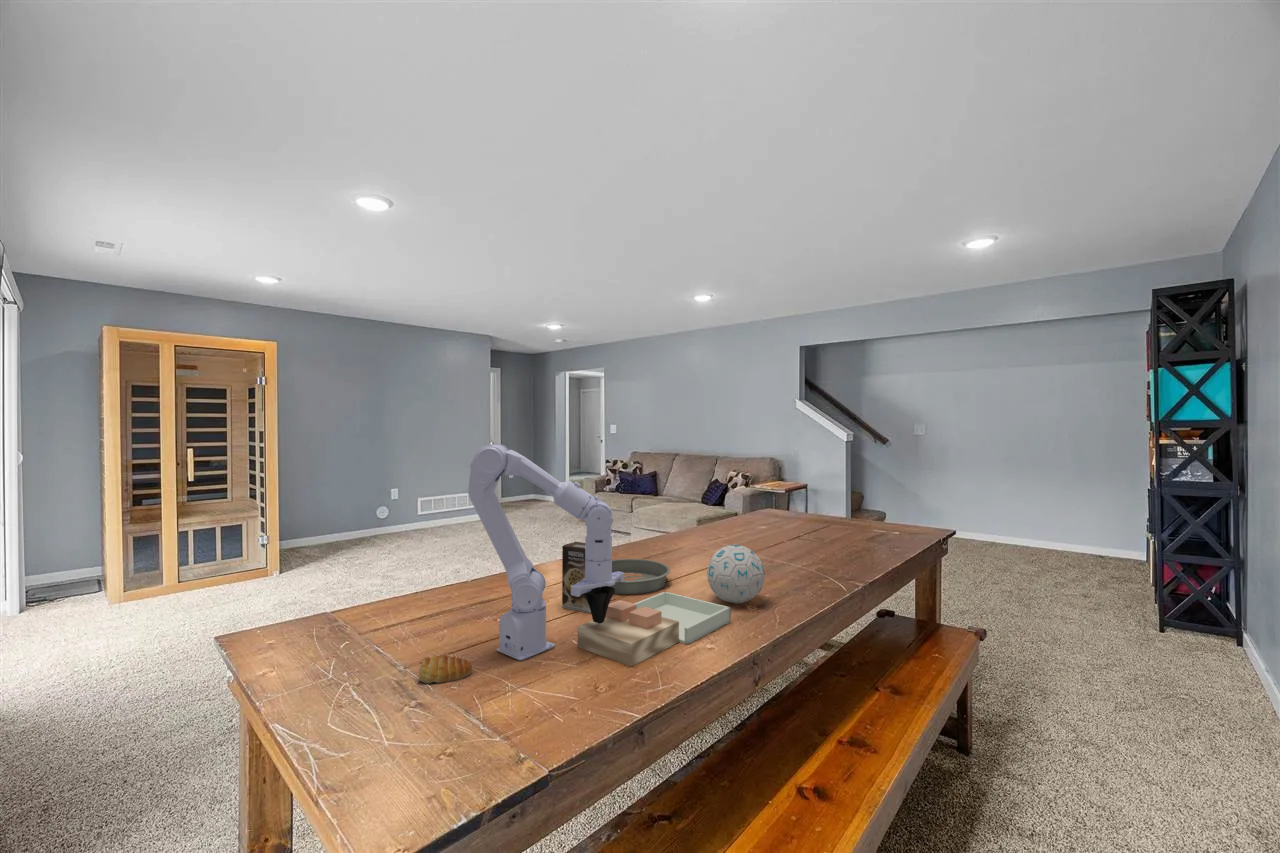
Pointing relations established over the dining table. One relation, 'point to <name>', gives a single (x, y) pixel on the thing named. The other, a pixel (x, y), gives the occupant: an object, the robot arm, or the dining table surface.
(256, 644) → the dining table surface
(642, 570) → the cake pan
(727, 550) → the puzzle ball
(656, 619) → the tile near
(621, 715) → the dining table surface
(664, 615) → the tray
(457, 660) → the pastry
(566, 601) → the coffee box
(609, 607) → the tile far
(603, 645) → the block
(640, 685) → the dining table surface
